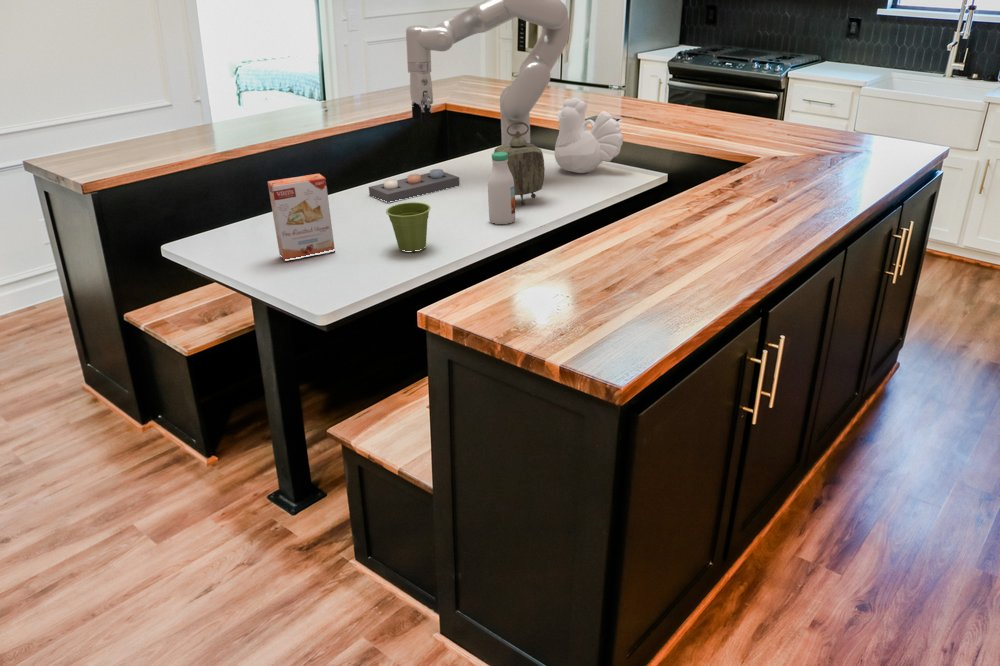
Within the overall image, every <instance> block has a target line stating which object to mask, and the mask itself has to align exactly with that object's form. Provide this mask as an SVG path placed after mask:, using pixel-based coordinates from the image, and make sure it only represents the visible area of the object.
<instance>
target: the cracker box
mask: <svg viewBox="0 0 1000 666" xmlns="http://www.w3.org/2000/svg"><path fill="white" fill-rule="evenodd" d="M326 180H327V179H326V177H325V176H324V175H322V174H320V173H314V174H307V175H301V176H295V177H288V178H281V179H275V180H269V181H267V186H268V193H269V199H270V204H271V211H272V216H273V222H274V230H275V235H276V239H277V240H276V241H277V246H278V248H277V249H278V253H279V256H280V255H281V256H282V258H283V259H284V260H285V259H290V258H296V257H301V256H306V255H310V254H315V253H320V252H324V251H329V250H333V249H336V248H335V241H334V233H333V225H332V218H331V217H332V216H331V209H330V202H329V195H328V187H327V181H326ZM282 258H281V259H282ZM283 259H282V260H283ZM284 260H283V261H284Z"/></svg>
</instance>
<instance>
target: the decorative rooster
mask: <svg viewBox="0 0 1000 666" xmlns="http://www.w3.org/2000/svg"><path fill="white" fill-rule="evenodd" d="M562 104H563V105H562V109H560V110H558V111H557V116H558V117H557V118H558V130H559V131H558V136H557V137H556V142H555V144H554V145H555V147H554V159H555V161H556V163H557V165H558V166H559V167H560V168H561V169H562V170H564V171H567V172H572V173H577V174H587V173H592V172H593V171H594V170H595V169H597V167H599V166H600V165H601V164H602V163H603V162H611V161H612V160H613V159H614V158H616V157H617V156H618V155H619V154H620V152H621V149H622V146H623V144H624V143H623V141H624V135H623V133H621V130H622V129H621V127H620V123H619V122H618V121H617V120H616V119H614V118H613V115H612V113H609V112H608V111H605V110H602V111H601V112H600V113H599V114H598V115H597V117H596V119H595V121H594V120H593V119H590V118H589V119H586V115H585V112H586V111H587V108H588V105H587V102H586V101H584V100H581V99H580V98H578V97H571V98H565V99H564V100H563V103H562ZM589 124H590V125H591V129H589V128H588V125H589Z"/></svg>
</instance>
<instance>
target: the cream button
mask: <svg viewBox="0 0 1000 666" xmlns="http://www.w3.org/2000/svg"><path fill="white" fill-rule="evenodd" d="M383 183H384V189H386V190H393V189H397V188H398V183H397V179H386V180H384V181H383Z"/></svg>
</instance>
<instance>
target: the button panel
mask: <svg viewBox="0 0 1000 666" xmlns="http://www.w3.org/2000/svg"><path fill="white" fill-rule="evenodd" d="M420 175H421V183H418V184H414V185H411V184H408V179H407V177H406V178H401V179H398V180H397V179H396V180H397V183H398V188H397V189H393V190H386V189H384V182H383V183H379V184H374V185H372V186H368V194H369V196H370V195H371V196H374V197H376V198H379V199H382V200H385V201H387V202H390V201H395V200H399V199H404V200H406V199H405V198H408V199H410V198H409V197H412V198H414V197H413V196H416V197H418V196H417V195H420V196H423V195H422V194H424V195H427V194H426V193H428V194H432V193H436V192H440V191H443V189H444V190H447V189H446V188H449V189H452V188H451V187H453V188H456V187H455V186H457V187H460V186H461V185H460V176H457V175H454V174H451V173H448V172H446V171H445V172H444V171H443V178H439V179H432V178H430V172H427V173H422V174H420ZM459 185H460V186H459ZM439 190H440V191H439ZM435 191H436V192H435ZM431 192H432V193H431ZM371 196H370V197H371ZM374 197H373V198H374ZM376 198H375V199H376ZM379 199H378V200H379Z"/></svg>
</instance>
